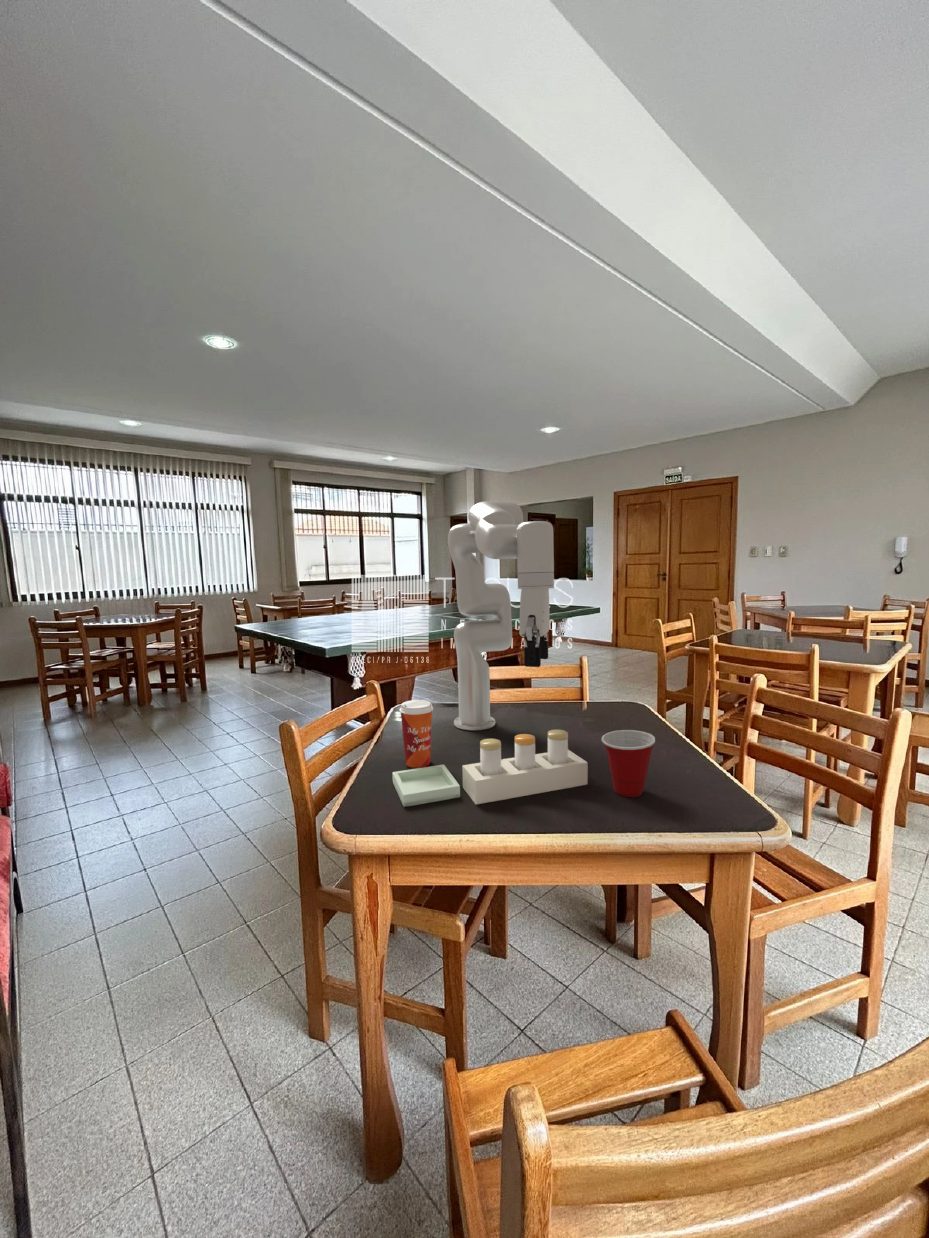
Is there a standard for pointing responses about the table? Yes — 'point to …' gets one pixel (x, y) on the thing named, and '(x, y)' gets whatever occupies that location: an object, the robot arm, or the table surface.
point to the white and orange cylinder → (524, 752)
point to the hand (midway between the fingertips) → (536, 662)
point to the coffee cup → (417, 732)
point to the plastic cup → (628, 760)
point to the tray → (425, 785)
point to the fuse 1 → (490, 757)
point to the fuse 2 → (557, 747)
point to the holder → (523, 778)
